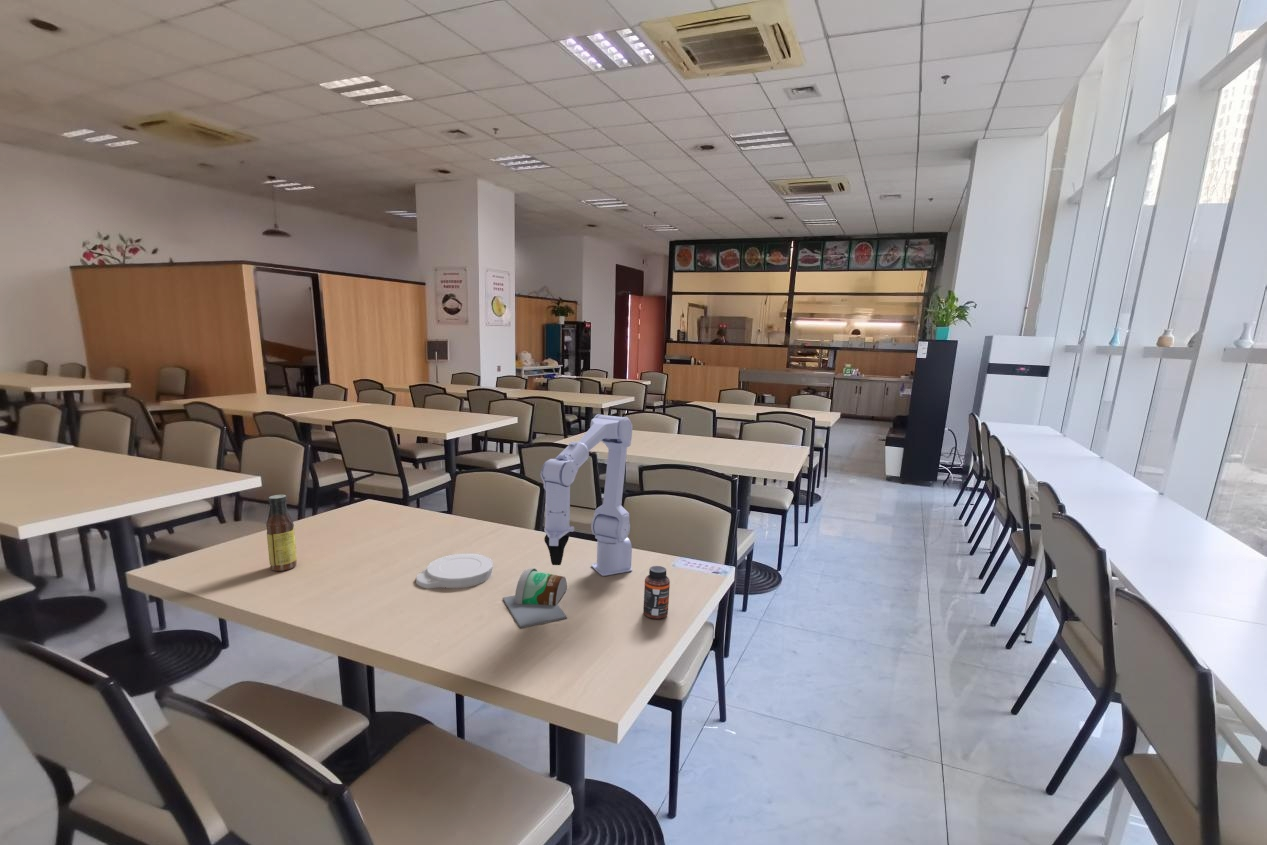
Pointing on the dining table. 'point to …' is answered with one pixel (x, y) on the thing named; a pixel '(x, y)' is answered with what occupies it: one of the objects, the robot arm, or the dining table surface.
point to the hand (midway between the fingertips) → (556, 564)
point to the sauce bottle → (280, 535)
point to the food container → (539, 588)
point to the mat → (533, 612)
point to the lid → (456, 571)
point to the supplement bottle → (656, 593)
